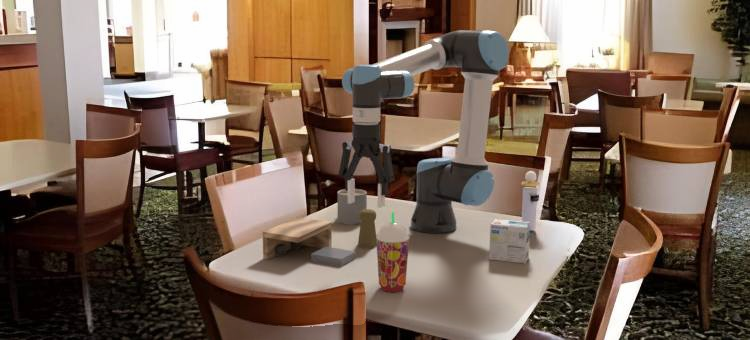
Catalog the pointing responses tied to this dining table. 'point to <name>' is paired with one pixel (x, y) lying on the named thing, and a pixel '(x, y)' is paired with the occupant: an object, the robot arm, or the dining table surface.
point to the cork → (367, 229)
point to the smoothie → (392, 256)
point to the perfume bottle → (530, 199)
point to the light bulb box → (509, 241)
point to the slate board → (333, 256)
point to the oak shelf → (296, 236)
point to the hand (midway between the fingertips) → (366, 204)
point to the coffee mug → (351, 206)
